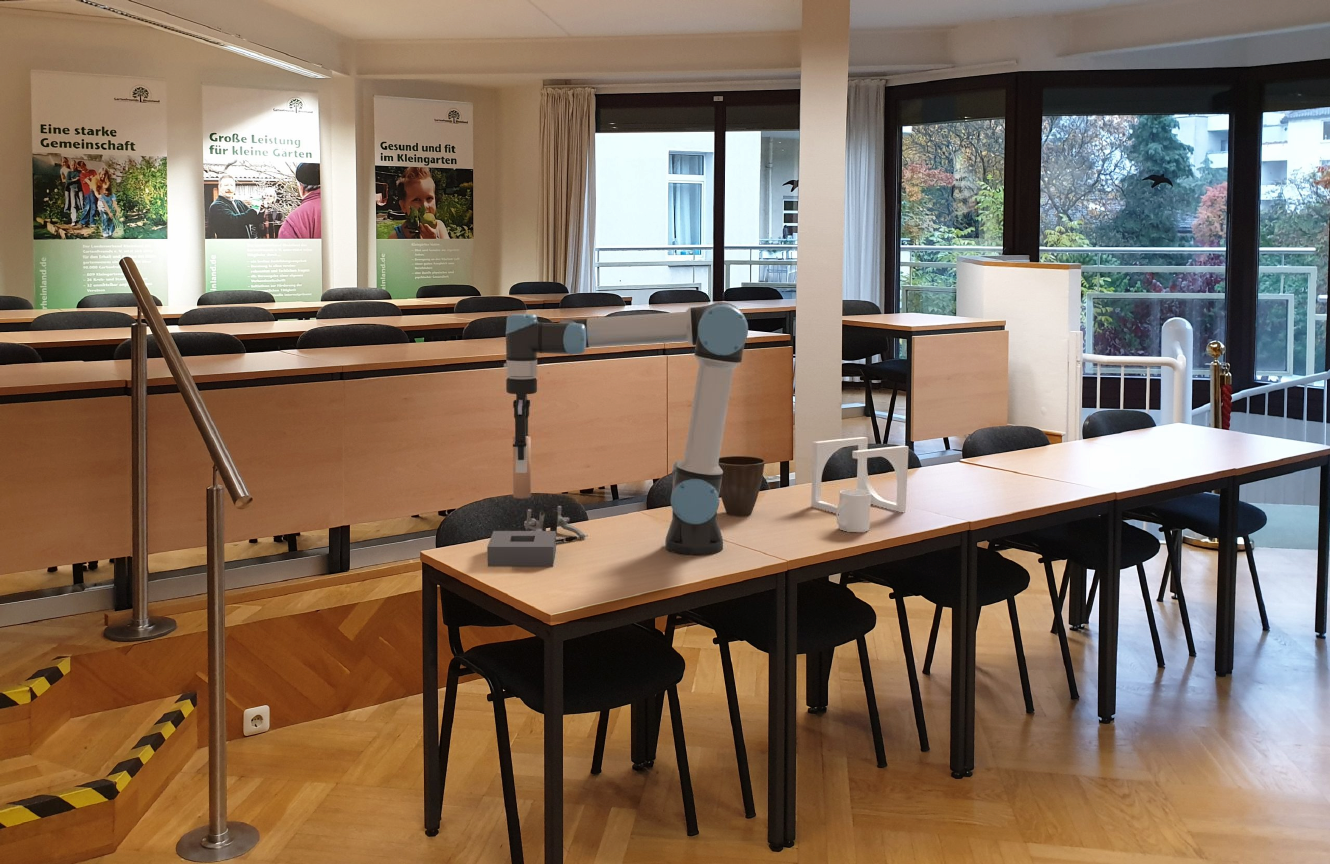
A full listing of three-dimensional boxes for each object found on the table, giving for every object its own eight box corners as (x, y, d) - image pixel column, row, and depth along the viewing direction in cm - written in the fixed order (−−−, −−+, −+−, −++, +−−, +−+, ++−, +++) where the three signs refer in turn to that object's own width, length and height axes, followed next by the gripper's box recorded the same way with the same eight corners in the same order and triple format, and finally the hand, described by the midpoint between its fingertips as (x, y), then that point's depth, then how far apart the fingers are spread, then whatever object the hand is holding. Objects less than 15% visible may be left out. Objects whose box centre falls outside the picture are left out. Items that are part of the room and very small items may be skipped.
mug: (823, 530, 331) (825, 493, 329) (851, 524, 338) (853, 487, 337) (847, 536, 324) (849, 498, 323) (875, 530, 332) (877, 492, 330)
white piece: (905, 512, 355) (908, 446, 352) (854, 519, 345) (857, 452, 342) (861, 499, 372) (863, 436, 369) (811, 506, 361) (813, 441, 358)
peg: (531, 494, 298) (531, 435, 296) (530, 498, 294) (530, 438, 291) (513, 494, 298) (513, 435, 295) (512, 498, 294) (512, 438, 291)
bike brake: (517, 531, 323) (553, 558, 307) (519, 507, 321) (555, 533, 305) (561, 525, 330) (598, 551, 315) (563, 502, 329) (600, 528, 313)
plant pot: (713, 518, 343) (714, 464, 341) (713, 507, 358) (713, 455, 356) (764, 519, 343) (766, 465, 340) (762, 508, 358) (763, 456, 355)
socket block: (555, 549, 307) (555, 530, 306) (553, 566, 291) (553, 546, 290) (493, 549, 306) (493, 530, 305) (487, 566, 290) (487, 546, 289)
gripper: (509, 373, 299) (509, 464, 303) (503, 381, 282) (503, 477, 286) (538, 373, 300) (539, 464, 303) (534, 381, 283) (535, 477, 286)
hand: (521, 470), depth 295 cm, fingers closed on peg, 4 cm apart
